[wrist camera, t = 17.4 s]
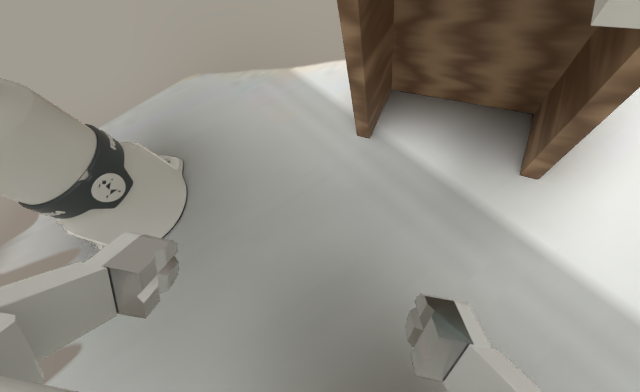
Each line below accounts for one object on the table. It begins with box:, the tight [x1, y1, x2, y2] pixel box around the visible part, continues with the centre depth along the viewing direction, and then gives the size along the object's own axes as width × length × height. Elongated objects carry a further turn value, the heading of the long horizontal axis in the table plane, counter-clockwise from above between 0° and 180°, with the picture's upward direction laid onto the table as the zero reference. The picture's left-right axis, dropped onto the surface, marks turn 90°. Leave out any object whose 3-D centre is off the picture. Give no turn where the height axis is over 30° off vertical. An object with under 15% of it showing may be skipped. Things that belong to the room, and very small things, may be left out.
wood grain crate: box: [337, 0, 640, 179], centre depth 28 cm, size 24×12×26 cm, turn 65°
